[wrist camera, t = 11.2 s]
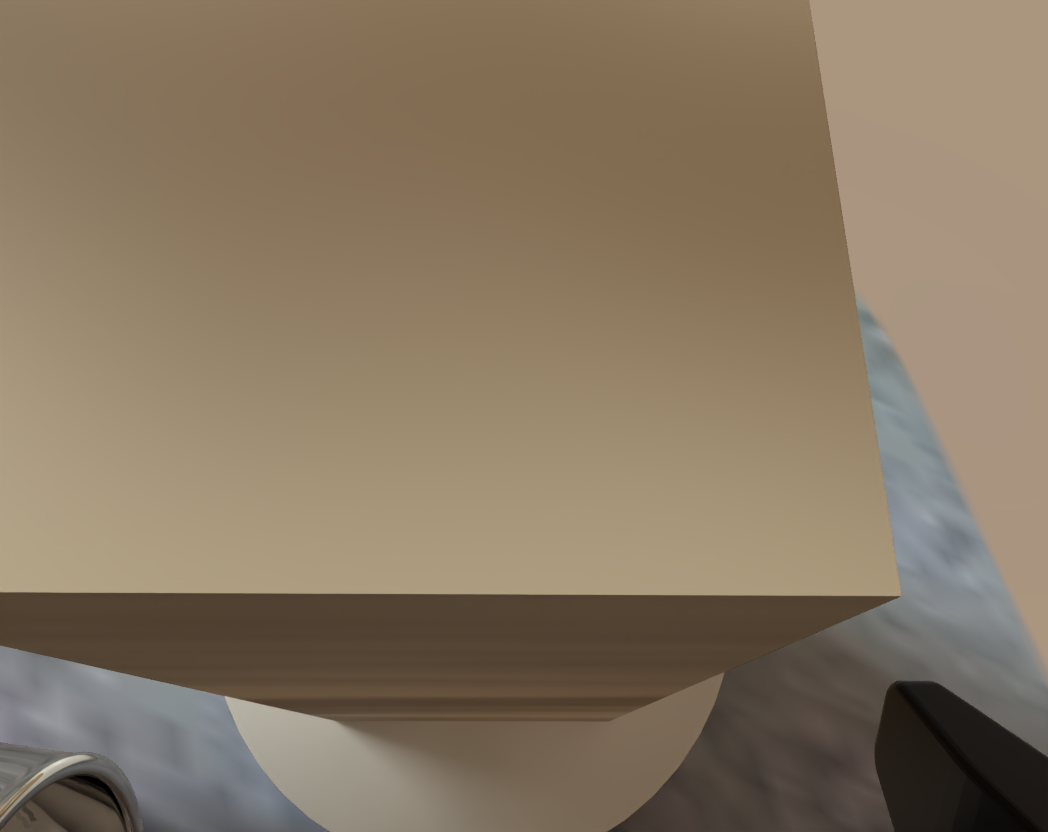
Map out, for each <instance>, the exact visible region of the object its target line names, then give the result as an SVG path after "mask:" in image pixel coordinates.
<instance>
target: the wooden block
mask: <svg viewBox="0 0 1048 832" xmlns="http://www.w3.org/2000/svg"><path fill="white" fill-rule="evenodd" d="M898 597H901V590H900V583H899V577H898V570H897V564H896V558H895V551H894V545H893V538H892V532H891V525H890V519H889V512H888V506H887V500H886V493H885V487H884V480H883V474H882V467H881V461H880V454H879V448H878V442H877V435H876V429H875V422H874V416H873V409H872V403H871V396H870V390H869V384H868V377H867V371H866V364H865V358H864V351H863V345H862V338H861V332H860V326H859V319H858V313H857V306H856V300H855V293H854V287H853V282H852V275H851V268H850V261H849V255H848V248H847V242H846V236H845V229H844V224H843V217H842V210H841V203H840V197H839V191H838V184H837V178H836V171H835V165H834V158H833V152H832V145H831V139H830V132H829V126H828V119H827V114H826V107H825V100H824V94H823V88H822V81H821V74H820V68H819V62H818V56H817V49H816V42H815V36H814V29H813V23H812V17H811V10H810V4H809V0H0V645H1V646H5V647H10V648H14V649H19V650H23V651H27V652H32V653H36V654H41V655H45V656H50V657H54V658H58V659H63V660H67V661H72V662H76V663H81V664H85V665H89V666H94V667H98V668H103V669H107V670H112V671H116V672H120V673H125V674H129V675H134V676H138V677H143V678H147V679H151V680H156V681H160V682H165V683H169V684H174V685H178V686H183V687H187V688H191V689H196V690H200V691H205V692H209V693H214V694H218V695H222V696H227V697H231V698H236V699H240V700H245V701H249V702H253V703H258V704H262V705H267V706H271V707H276V708H280V709H284V710H289V711H293V712H298V713H302V714H307V715H311V716H315V717H320V718H324V719H329V720H333V721H582V722H609V721H611V720H614V719H616V718H618V717H621V716H623V715H625V714H628V713H630V712H632V711H635V710H637V709H639V708H642V707H644V706H646V705H649V704H651V703H653V702H656V701H658V700H660V699H663V698H665V697H667V696H670V695H672V694H674V693H677V692H679V691H681V690H684V689H686V688H688V687H691V686H693V685H695V684H698V683H700V682H702V681H705V680H707V679H709V678H712V677H714V676H716V675H719V674H721V673H723V672H726V671H728V670H730V669H733V668H735V667H737V666H740V665H742V664H744V663H747V662H749V661H751V660H754V659H756V658H758V657H761V656H763V655H765V654H768V653H770V652H772V651H775V650H777V649H779V648H782V647H784V646H786V645H789V644H791V643H793V642H796V641H798V640H800V639H803V638H805V637H807V636H810V635H812V634H814V633H817V632H819V631H821V630H824V629H826V628H828V627H831V626H833V625H835V624H838V623H840V622H842V621H845V620H847V619H849V618H852V617H854V616H856V615H859V614H861V613H863V612H866V611H868V610H870V609H873V608H875V607H877V606H880V605H882V604H884V603H887V602H889V601H891V600H894V599H896V598H898Z"/></svg>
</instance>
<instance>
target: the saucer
mask: <svg viewBox="0 0 1048 832" xmlns="http://www.w3.org/2000/svg"><path fill="white" fill-rule="evenodd" d="M724 674H725V672H723V673H721V674H719V675H716V676H714V677H712V678H709V679H707V680H705V681H702V682H700V683H698V684H695V685H693V686H691V687H688V688H686V689H684V690H681V691H679V692H677V693H674V694H672V695H670V696H667V697H665V698H663V699H660V700H658V701H656V702H653V703H651V704H649V705H646V706H644V707H642V708H639V709H637V710H635V711H632V712H630V713H628V714H625V715H623V716H621V717H618V718H616V719H614V720H611V721H609V722H582V721H333V720H329V719H324V718H320V717H315V716H311V715H307V714H302V713H298V712H293V711H289V710H284V709H280V708H276V707H271V706H267V705H262V704H258V703H253V702H249V701H245V700H240V699H236V698H231V697H227V696H225V699H226V702H227V704H228V706H229V709H230V711H231V714H232V716H233V718H234V721H235V723H236V725H237V728H238V730H239V732H240V734H241V736H242V738H243V739H244V741H245V743H246V744H247V746H248V748H249V749H250V751H251V753H252V754H253V756H254V758H255V759H256V761H257V763H258V764H259V766H260V767H261V768H262V769H263V770H264V772H265V773H266V774H267V775H268V777H269V778H270V779H271V780H272V781H273V783H274V784H275V785H276V786H277V788H278V789H279V790H280V791H281V792H282V793H283V794H284V795H285V796H286V797H287V798H288V799H289V800H290V801H291V802H292V803H294V804H295V805H296V806H297V807H298V808H299V809H300V810H301V811H302V812H303V813H304V814H306V815H307V816H308V817H309V818H310V819H312V820H313V821H315V822H316V823H318V824H319V825H321V826H322V827H324V828H325V829H326V830H328V831H329V832H607V831H609V830H610V829H612V828H614V827H615V826H617V825H618V824H620V823H621V822H623V821H624V820H626V819H627V818H628V817H630V816H631V815H632V814H633V813H634V812H635V811H636V810H638V809H639V808H640V807H641V806H642V805H643V804H645V803H646V802H647V801H648V800H649V799H650V798H651V797H653V796H654V795H655V794H656V793H657V791H658V790H659V789H660V788H661V787H662V786H663V785H664V783H665V782H666V781H667V780H668V779H669V778H670V777H671V775H672V774H673V773H674V772H675V771H676V770H677V769H678V767H679V766H680V765H681V763H682V762H683V760H684V759H685V757H686V756H687V754H688V752H689V751H690V749H691V748H692V746H693V745H694V743H695V742H696V740H697V739H698V737H699V736H700V734H701V731H702V729H703V727H704V725H705V723H706V721H707V719H708V717H709V715H710V713H711V711H712V708H713V706H714V704H715V702H716V698H717V695H718V692H719V689H720V686H721V683H722V680H723V677H724Z"/></svg>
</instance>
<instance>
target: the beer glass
mask: <svg viewBox="0 0 1048 832" xmlns="http://www.w3.org/2000/svg"><path fill="white" fill-rule="evenodd" d="M0 832H144V831H143V823H142V817H141V813H140V809H139V805H138V801H137V798H136V795H135V792H134V790H133V788H132V786H131V784H130V782H129V780H128V778H127V777H126V775H125V774H124V772H123V771H122V770H121V769H120V768H119V767H118V766H117V765H116V764H115V763H114V762H113V761H112V760H110V759H109V758H107V757H105V756H103V755H100V754H97V753H92V752H64V751H55V750H48V749H40V748H33V747H27V746H21V745H14V744H8V743H2V742H0Z"/></svg>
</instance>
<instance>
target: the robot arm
mask: <svg viewBox="0 0 1048 832" xmlns="http://www.w3.org/2000/svg"><path fill="white" fill-rule="evenodd" d="M875 765H876V770H877V774H878V777H879V781H880V784H881V787H882V791H883V794H884V797H885V801H886V804H887V807H888V811H889V814H890V817H891V821H892V824H893V827H894V830H895V832H1048V757H1047V756H1045V755H1044V754H1042V753H1041V752H1039V751H1038V750H1036V749H1035V748H1033V747H1032V746H1031V745H1029V744H1028V743H1026V742H1025V741H1023V740H1022V739H1020V738H1019V737H1017V736H1016V735H1014V734H1013V733H1011V732H1010V731H1008V730H1007V729H1005V728H1004V727H1002V726H1001V725H999V724H998V723H997V722H995V721H994V720H992V719H991V718H989V717H988V716H986V715H985V714H983V713H982V712H980V711H979V710H977V709H976V708H974V707H973V706H971V705H970V704H968V703H967V702H965V701H964V700H962V699H961V698H960V697H958V696H957V695H955V694H954V693H952V692H951V691H949V690H948V689H946V688H945V687H943V686H942V685H940V684H938V683H936V682H932V681H896V682H894V683H892V684H891V685H890V687H889V688H888V690H887V693H886V696H885V701H884V706H883V710H882V715H881V720H880V724H879V729H878V734H877V738H876V743H875Z"/></svg>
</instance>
